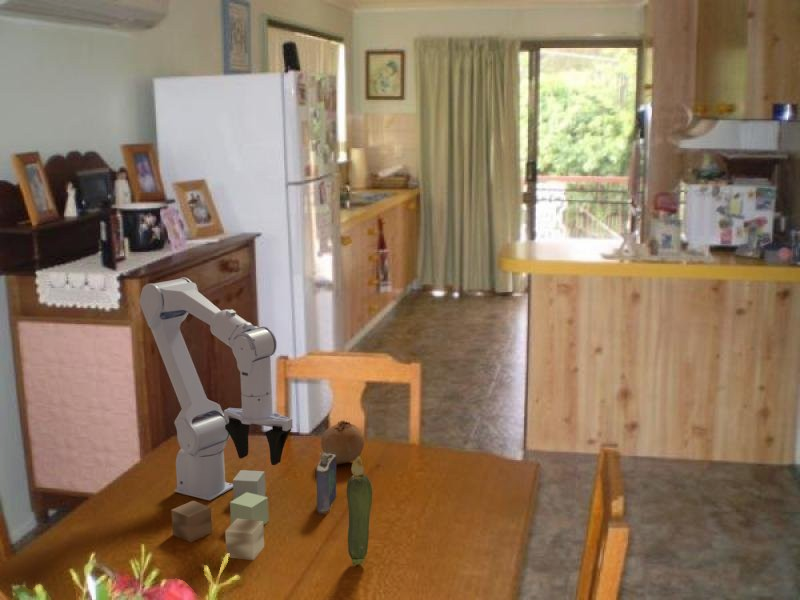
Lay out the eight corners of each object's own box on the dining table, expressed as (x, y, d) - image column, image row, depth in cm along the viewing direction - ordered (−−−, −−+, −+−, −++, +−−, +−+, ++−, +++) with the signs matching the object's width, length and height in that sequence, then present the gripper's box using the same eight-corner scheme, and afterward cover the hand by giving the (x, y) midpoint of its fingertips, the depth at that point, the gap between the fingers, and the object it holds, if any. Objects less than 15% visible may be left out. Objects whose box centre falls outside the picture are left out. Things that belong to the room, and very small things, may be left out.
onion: (363, 472, 191) (362, 428, 189) (319, 472, 191) (318, 428, 189) (365, 455, 200) (364, 413, 198) (323, 455, 201) (322, 413, 198)
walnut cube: (173, 535, 163) (171, 509, 162) (194, 525, 167) (193, 500, 166) (190, 542, 160) (188, 517, 159) (212, 532, 164) (210, 507, 163)
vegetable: (347, 557, 155) (345, 448, 151) (372, 556, 155) (371, 447, 151) (348, 570, 150) (346, 458, 146) (373, 568, 151) (372, 457, 147)
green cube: (231, 527, 166) (229, 502, 165) (247, 516, 171) (246, 492, 170) (252, 532, 164) (251, 507, 163) (268, 522, 168) (267, 497, 167)
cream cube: (226, 557, 155) (225, 531, 154) (238, 544, 160) (237, 518, 159) (253, 560, 154) (252, 534, 153) (264, 547, 159) (263, 521, 158)
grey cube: (233, 503, 176) (232, 480, 175) (241, 493, 181) (240, 470, 180) (258, 505, 176) (257, 481, 175) (265, 494, 180) (264, 471, 179)
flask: (328, 514, 171) (326, 462, 169) (313, 514, 171) (311, 461, 169) (338, 495, 180) (337, 444, 178) (324, 494, 180) (322, 444, 178)
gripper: (212, 392, 168) (216, 460, 170) (276, 403, 161) (278, 473, 164) (235, 382, 174) (238, 448, 177) (297, 392, 167) (300, 460, 170)
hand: (259, 460), depth 171 cm, fingers open, 7 cm apart
